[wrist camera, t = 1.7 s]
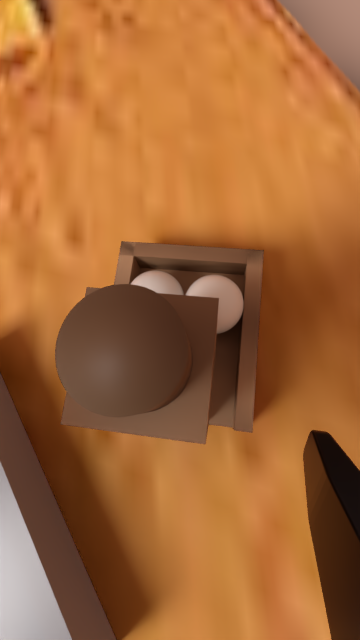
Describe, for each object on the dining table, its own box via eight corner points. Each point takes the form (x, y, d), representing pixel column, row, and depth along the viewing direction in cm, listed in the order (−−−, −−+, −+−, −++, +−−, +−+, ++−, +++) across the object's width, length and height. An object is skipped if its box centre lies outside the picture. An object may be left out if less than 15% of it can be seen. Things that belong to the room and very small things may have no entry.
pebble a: (249, 318, 18) (261, 306, 15) (203, 348, 17) (206, 341, 14) (218, 274, 18) (225, 254, 15) (173, 302, 18) (171, 287, 15)
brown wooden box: (245, 427, 17) (322, 488, 5) (109, 409, 18) (-86, 429, 6) (256, 271, 19) (328, 62, 7) (133, 262, 20) (20, 64, 8)
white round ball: (198, 313, 18) (190, 299, 15) (153, 343, 18) (135, 334, 15) (171, 271, 18) (158, 249, 16) (127, 299, 19) (106, 283, 16)
